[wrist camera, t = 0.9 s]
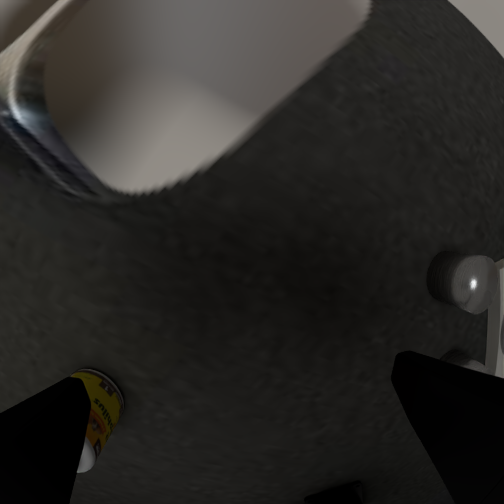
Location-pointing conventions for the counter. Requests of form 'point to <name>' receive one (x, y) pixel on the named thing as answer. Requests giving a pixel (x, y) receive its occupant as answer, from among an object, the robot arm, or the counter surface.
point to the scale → (496, 327)
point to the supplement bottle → (99, 414)
